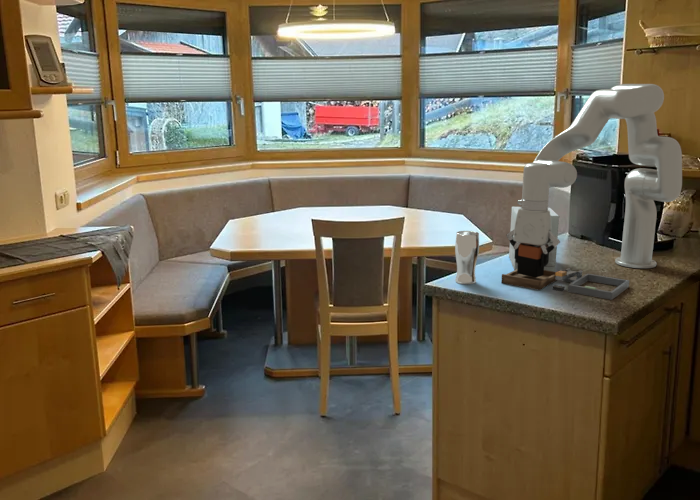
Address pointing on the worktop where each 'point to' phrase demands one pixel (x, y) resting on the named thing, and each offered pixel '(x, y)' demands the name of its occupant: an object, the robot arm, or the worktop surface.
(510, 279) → the wooden tray
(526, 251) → the battery
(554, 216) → the supplement box
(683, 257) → the worktop surface
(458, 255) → the beer glass
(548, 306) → the worktop surface
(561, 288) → the key mount
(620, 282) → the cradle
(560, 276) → the release key
